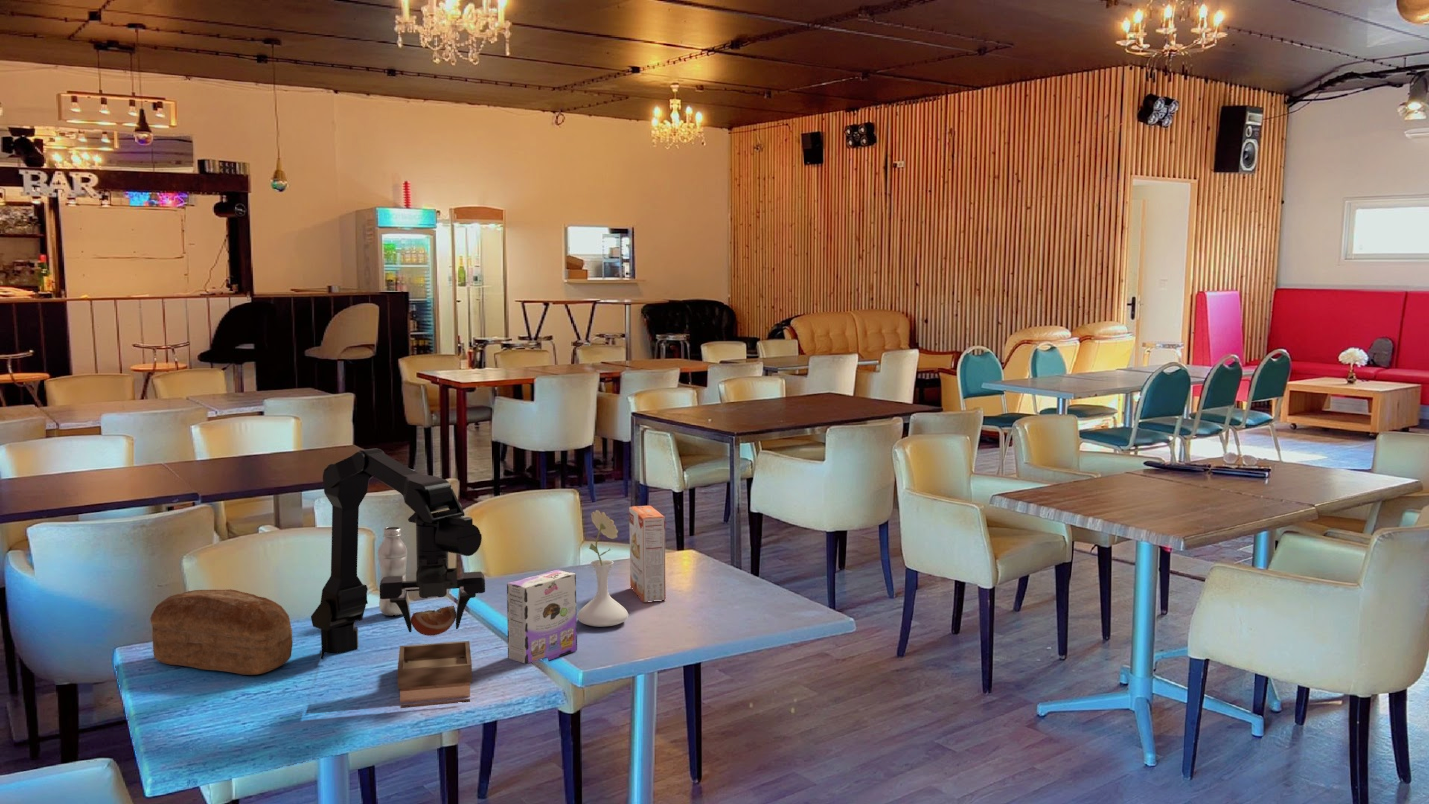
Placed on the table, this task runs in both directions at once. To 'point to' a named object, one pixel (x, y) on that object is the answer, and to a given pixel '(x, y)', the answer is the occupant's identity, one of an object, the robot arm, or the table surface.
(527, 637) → the candy box
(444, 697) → the rail track
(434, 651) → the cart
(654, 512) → the cracker box
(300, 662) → the table surface
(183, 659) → the bread
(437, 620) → the fruit slice
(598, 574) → the flower in vase
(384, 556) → the plastic bottle
